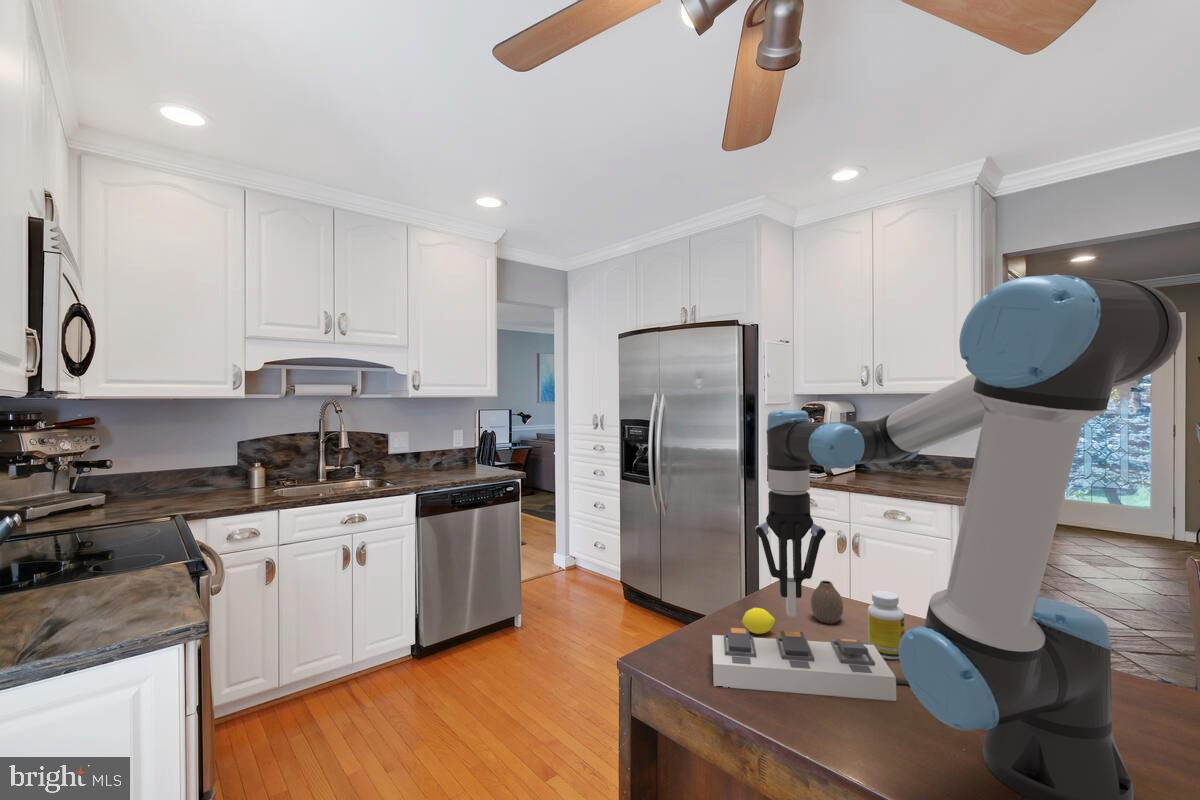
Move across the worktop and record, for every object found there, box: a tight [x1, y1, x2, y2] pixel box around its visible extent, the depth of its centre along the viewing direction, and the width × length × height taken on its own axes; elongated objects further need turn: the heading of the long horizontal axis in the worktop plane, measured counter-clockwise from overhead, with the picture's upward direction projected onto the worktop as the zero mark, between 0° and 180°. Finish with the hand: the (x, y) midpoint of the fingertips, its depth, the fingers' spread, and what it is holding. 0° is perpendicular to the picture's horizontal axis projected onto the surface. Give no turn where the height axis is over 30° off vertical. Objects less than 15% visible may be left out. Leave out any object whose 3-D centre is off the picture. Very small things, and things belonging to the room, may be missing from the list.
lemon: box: [741, 607, 776, 635], centre depth 116 cm, size 7×5×5 cm
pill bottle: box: [867, 590, 906, 660], centre depth 106 cm, size 6×6×12 cm
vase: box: [810, 580, 844, 625], centre depth 122 cm, size 7×7×9 cm
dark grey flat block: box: [780, 630, 809, 656], centre depth 99 cm, size 6×4×1 cm, turn 169°
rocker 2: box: [835, 638, 868, 655], centre depth 97 cm, size 6×4×1 cm, turn 168°
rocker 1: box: [727, 626, 751, 653], centre depth 101 cm, size 6×4×1 cm, turn 169°
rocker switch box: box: [711, 633, 910, 702], centre depth 97 cm, size 12×40×5 cm, turn 79°
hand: (791, 613), depth 102 cm, fingers closed
